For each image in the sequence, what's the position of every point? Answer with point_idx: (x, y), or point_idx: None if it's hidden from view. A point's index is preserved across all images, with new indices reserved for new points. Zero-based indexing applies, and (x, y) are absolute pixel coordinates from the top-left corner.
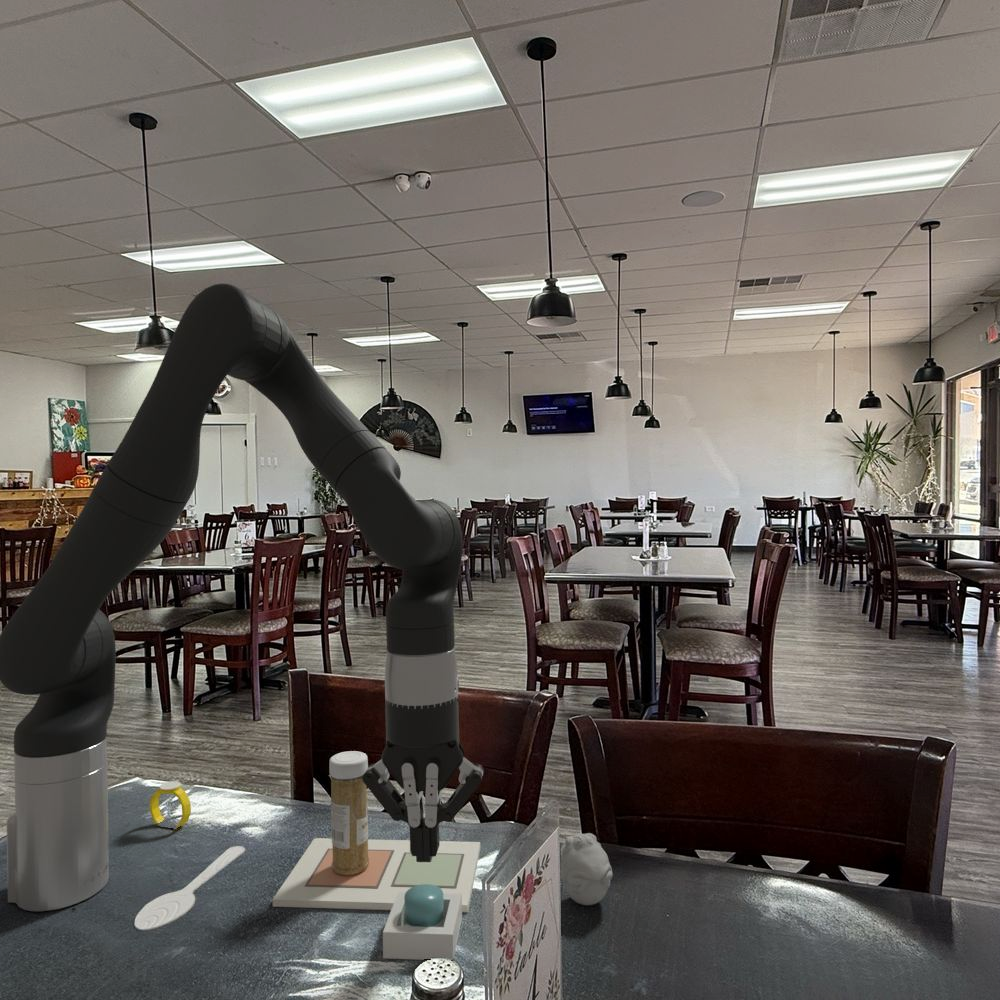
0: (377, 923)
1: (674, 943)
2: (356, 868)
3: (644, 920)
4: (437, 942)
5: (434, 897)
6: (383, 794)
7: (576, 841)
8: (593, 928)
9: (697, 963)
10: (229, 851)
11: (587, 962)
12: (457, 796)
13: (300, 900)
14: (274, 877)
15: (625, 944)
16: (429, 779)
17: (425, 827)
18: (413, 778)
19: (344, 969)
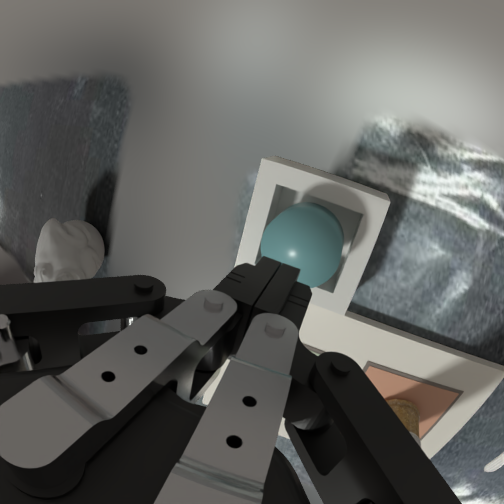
0: (383, 287)
1: (44, 148)
2: (390, 404)
3: (56, 190)
4: (293, 165)
5: (279, 234)
6: (389, 453)
7: (46, 276)
8: (95, 187)
9: (38, 117)
10: (499, 465)
11: (111, 124)
12: (61, 304)
13: (478, 362)
14: (480, 421)
15: (75, 152)
16: (92, 404)
17: (242, 306)
18: (186, 464)
19: (447, 187)
